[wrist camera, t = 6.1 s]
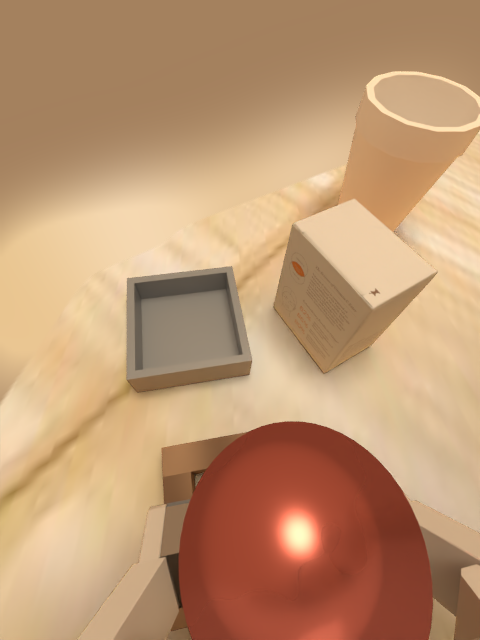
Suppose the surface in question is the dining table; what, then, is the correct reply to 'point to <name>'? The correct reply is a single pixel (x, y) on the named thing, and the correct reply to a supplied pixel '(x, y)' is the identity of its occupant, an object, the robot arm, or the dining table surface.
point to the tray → (185, 329)
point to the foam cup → (406, 141)
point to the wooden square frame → (188, 476)
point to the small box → (346, 281)
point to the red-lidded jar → (302, 543)
